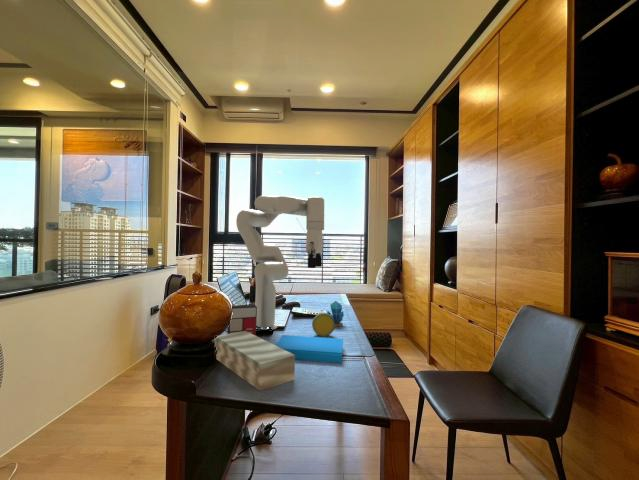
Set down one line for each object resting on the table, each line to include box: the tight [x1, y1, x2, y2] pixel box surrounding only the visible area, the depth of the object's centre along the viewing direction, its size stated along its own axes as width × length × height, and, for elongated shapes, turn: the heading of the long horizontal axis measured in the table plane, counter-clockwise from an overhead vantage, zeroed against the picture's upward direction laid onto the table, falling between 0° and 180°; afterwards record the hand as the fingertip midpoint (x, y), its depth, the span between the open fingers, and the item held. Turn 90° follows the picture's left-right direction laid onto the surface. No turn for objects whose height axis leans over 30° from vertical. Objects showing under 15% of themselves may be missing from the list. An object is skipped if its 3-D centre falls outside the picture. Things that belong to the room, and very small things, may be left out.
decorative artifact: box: [311, 312, 336, 337], centre depth 145 cm, size 10×7×10 cm
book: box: [274, 334, 344, 364], centre depth 121 cm, size 17×4×25 cm
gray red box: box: [226, 304, 257, 336], centre depth 128 cm, size 11×4×15 cm, turn 114°
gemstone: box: [326, 300, 345, 328], centre depth 162 cm, size 7×9×12 cm
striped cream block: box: [214, 331, 296, 391], centre depth 104 cm, size 31×12×8 cm, turn 41°
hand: (314, 267), depth 133 cm, fingers open, 9 cm apart
